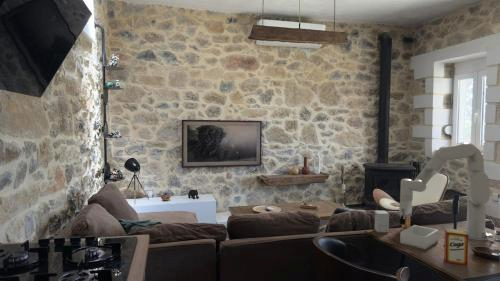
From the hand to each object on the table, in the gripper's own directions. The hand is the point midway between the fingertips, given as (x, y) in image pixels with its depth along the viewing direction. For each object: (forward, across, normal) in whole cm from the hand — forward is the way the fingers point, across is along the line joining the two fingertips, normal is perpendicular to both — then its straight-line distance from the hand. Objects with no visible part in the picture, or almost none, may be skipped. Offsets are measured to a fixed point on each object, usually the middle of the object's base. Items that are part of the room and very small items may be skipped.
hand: (405, 222), depth 229 cm
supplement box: (+5, +14, -10) cm, 18 cm away
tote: (+4, +19, +16) cm, 25 cm away
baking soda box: (+4, +35, +40) cm, 54 cm away
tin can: (+5, 0, 0) cm, 5 cm away
